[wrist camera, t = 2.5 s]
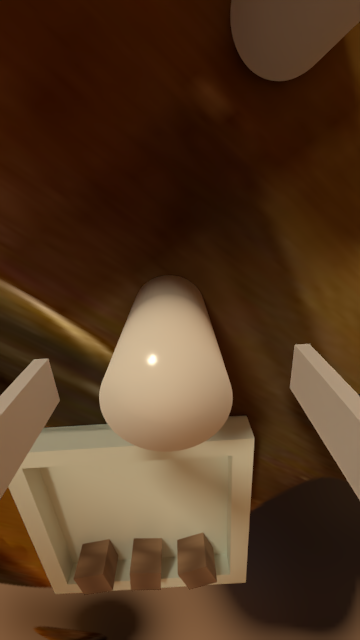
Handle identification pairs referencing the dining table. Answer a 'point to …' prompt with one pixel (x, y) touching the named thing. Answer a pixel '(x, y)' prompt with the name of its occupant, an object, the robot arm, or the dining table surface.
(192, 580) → the walnut cube
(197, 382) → the white rounded tapered cylinder
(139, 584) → the walnut cube
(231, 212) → the dining table surface
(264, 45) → the beverage can
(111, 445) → the tray
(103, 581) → the walnut cube
